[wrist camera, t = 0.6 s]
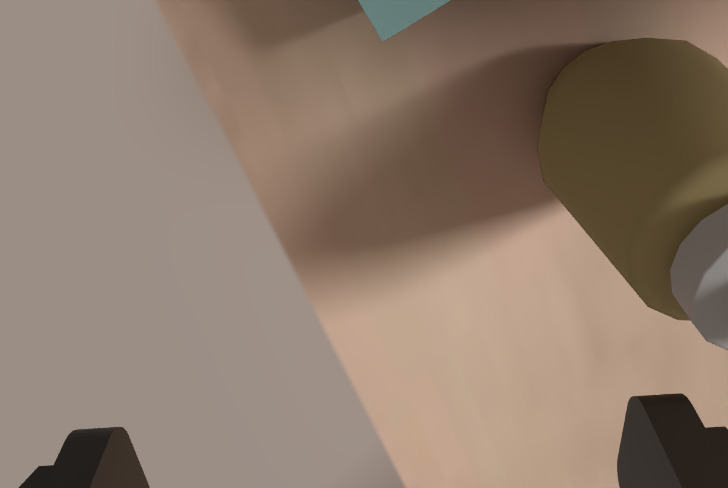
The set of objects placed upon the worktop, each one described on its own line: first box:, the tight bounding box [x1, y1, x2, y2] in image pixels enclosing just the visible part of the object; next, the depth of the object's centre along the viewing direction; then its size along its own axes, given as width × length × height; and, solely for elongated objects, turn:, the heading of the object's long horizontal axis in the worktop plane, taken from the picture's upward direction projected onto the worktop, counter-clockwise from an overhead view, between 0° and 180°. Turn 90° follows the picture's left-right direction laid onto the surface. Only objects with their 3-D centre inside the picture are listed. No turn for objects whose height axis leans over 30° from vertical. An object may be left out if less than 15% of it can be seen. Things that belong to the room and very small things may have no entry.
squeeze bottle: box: [537, 38, 728, 350], centre depth 23 cm, size 8×8×18 cm
